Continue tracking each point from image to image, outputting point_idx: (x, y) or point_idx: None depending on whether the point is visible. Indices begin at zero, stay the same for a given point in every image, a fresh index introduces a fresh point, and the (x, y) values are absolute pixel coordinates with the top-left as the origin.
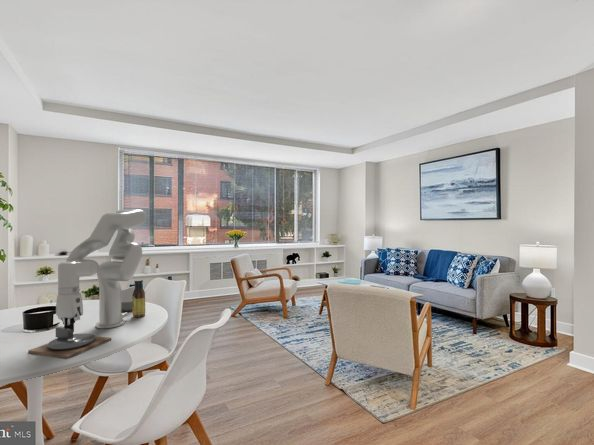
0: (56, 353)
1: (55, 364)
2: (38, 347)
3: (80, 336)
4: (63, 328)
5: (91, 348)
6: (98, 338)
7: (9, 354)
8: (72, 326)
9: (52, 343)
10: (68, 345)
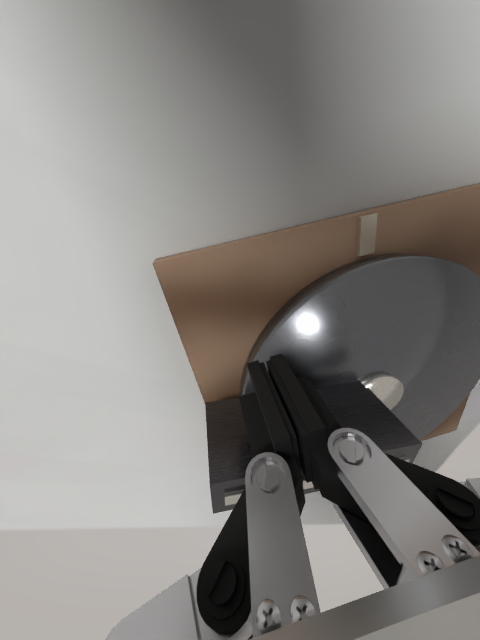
0: None
1: (436, 452)
2: None
3: (370, 335)
4: None
5: None
6: (459, 237)
7: (185, 520)
8: (330, 419)
9: None
10: (419, 426)
